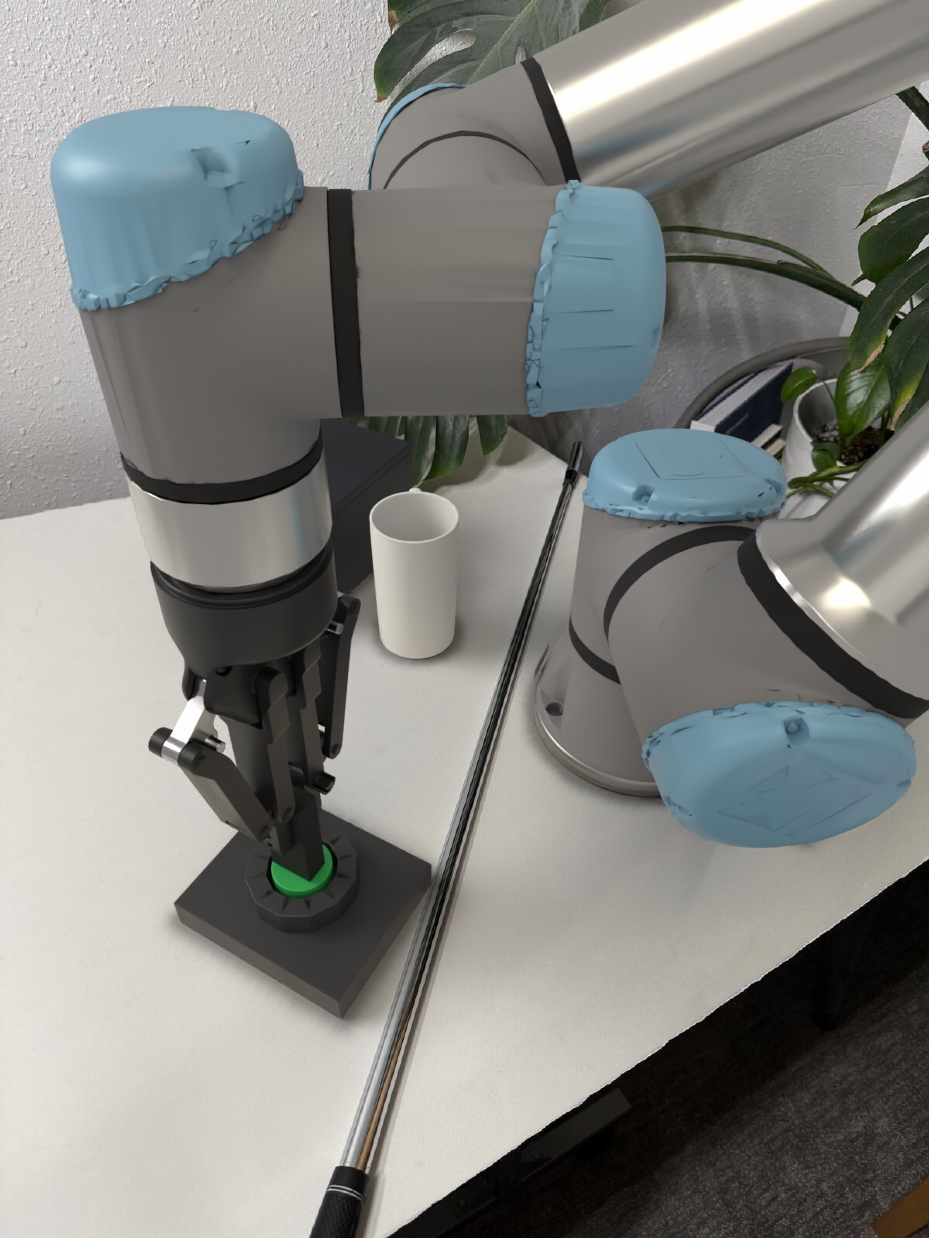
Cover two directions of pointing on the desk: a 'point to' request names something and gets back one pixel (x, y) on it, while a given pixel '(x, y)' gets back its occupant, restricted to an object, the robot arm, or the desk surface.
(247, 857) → the control block
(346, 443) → the cabinet
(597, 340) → the robot arm
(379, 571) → the mug
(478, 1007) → the desk surface
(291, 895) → the button
